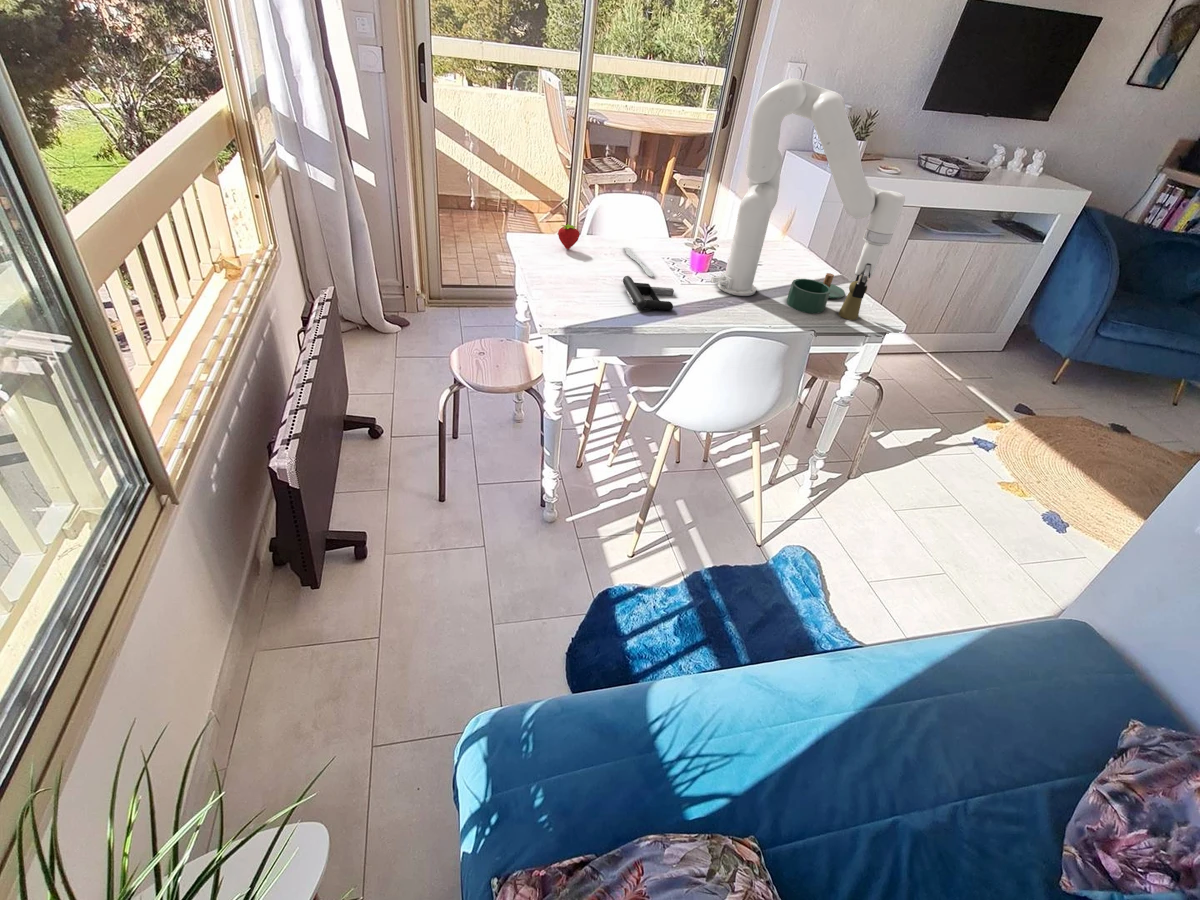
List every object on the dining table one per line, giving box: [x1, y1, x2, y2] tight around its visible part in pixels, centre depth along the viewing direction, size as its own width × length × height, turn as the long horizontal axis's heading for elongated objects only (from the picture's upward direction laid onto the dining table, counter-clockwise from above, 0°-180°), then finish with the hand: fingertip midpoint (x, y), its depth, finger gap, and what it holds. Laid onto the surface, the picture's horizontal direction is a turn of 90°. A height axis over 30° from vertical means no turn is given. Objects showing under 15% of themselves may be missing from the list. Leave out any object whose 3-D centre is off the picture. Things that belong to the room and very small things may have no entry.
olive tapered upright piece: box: [837, 280, 868, 321], centre depth 195 cm, size 6×6×11 cm
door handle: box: [622, 275, 675, 312], centre depth 192 cm, size 3×20×16 cm
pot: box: [786, 278, 831, 314], centre depth 199 cm, size 12×12×6 cm
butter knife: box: [625, 247, 655, 278], centre depth 216 cm, size 1×27×3 cm
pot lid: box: [817, 272, 846, 299], centre depth 210 cm, size 13×13×6 cm
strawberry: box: [557, 221, 581, 250], centre depth 216 cm, size 6×8×10 cm
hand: (858, 292), depth 193 cm, fingers open, 9 cm apart
